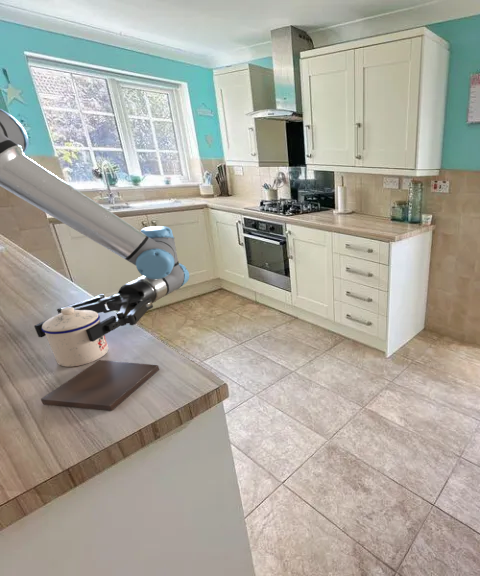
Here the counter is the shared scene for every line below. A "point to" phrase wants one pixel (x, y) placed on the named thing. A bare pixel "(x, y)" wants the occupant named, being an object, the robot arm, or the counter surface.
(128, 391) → the serving board
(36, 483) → the counter surface
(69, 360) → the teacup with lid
